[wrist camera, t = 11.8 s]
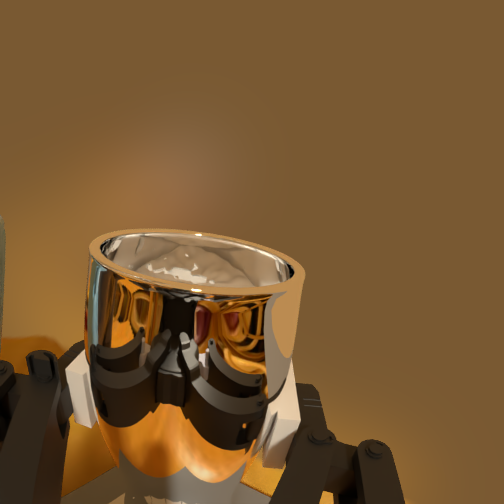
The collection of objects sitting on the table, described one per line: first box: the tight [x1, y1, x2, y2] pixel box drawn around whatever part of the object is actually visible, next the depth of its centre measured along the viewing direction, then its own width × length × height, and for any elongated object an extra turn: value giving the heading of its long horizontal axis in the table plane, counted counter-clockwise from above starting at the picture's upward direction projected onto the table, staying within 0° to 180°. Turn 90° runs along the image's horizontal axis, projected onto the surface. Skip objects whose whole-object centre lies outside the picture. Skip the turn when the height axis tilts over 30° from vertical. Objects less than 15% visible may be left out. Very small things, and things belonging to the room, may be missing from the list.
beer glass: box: [84, 229, 305, 504], centre depth 11 cm, size 7×7×15 cm
